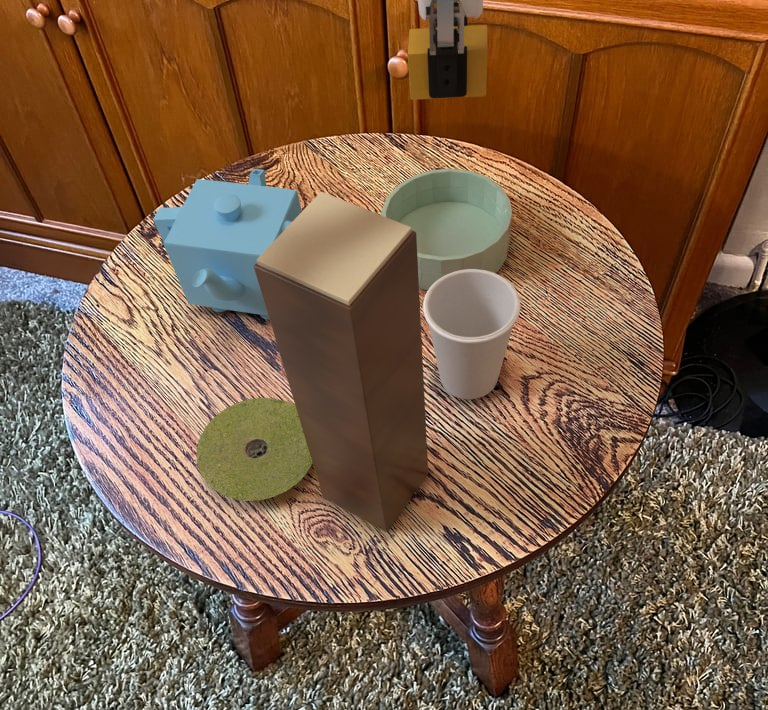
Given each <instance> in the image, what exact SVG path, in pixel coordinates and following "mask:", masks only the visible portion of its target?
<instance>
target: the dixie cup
mask: <svg viewBox="0 0 768 710" xmlns="http://www.w3.org/2000/svg"><path fill="white" fill-rule="evenodd" d="M422 311H423V316H424V319H425V321H426V323H427V324H428V328H429V333H430V337H431V341H432V347H433V352H434V356H435V361H436V365H437V370H438V375H439V379H440V383H441V385H442V388H444V390H445V391H446V392H447V393H448V394H449V395H451V396H453V397H455V398H457V399H461V400H477V399H480V398H483V397H485V396H486V395H487V396H488V394H489V393H491V392H492V391H493V390H494V389H495V387H496V385H498V380H499V377H500V374H501V370H502V366H503V363H504V359H505V356H506V353H507V349H508V345H509V342H510V339H511V334H512V332H513V329H514V325H515V323H517V320H518V318H519V316H520V312H521V299H520V296H519V293H518V290H517V289H516V287H514V285H513V284H512V283H511V282H510V281H509V280H508V279H506V278H504V277H503V276H502V275H500V274H498V273H497V272H496V273H493V272H490V271H486V270H480V269H465V270H459V271H455V272H452V273H449V274H447V275H445V276H443V277H442V278H440V279H439V280H437V281H436V282H435V283H434V284H433V285H432V286H431V287H430V288H429V290H426V293H425V295H424V298H423V303H422Z"/></svg>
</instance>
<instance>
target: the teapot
mask: <svg viewBox="0 0 768 710" xmlns="http://www.w3.org/2000/svg"><path fill="white" fill-rule="evenodd" d="M302 211H303V210H302V206H301V201H300V197H299V192H298V190H296V189H290V188H283V187H275V186H267V179H266V171H265V169H261V168H260V169H259V168H254V169H253V170H252V171H251V172H250V173H249V178H248V183H239V182H229V181H221V180H211V179H201V178H198V179H197V178H196V180H195V182H194V184H193V186H192V188H191V190H190V191H189V193H188V195H187V197H186V198H185V201H184V203H183V204H182V206H177V207H176V206H171V207H170V206H169V207H159V208H158V210H157V211H156V213H155V214H154V215H155V216H154V217H153V218H152V219H153V220H152V221H153V223H154V226H155V228H156V230H157V232H158V234H159V236H160V238H161V241H162V243H163V246H164V250H165V251H166V254H167V256H168V259H169V261H170V263H171V265H172V269H173V270H174V273H175V275H176V277H177V280H178V283H179V285H180V287H181V290H182V292H183V294H184V296H185V299H186V301H187V303H188V305H192V306H200V307H205V308H210V309H211V311H213V312H216V313H223V312H226V311H234V312H240V313H246V314H247V313H248V314H254V315H259V316H260V317H261V319H264V320H270V319H269V316H268V313H267V310H266V306H265V303H264V300H263V296H262V293H261V290H260V286H259V283H258V280H257V276H256V273H255V270H254V265H255V264H256V263H257V259H258V258H259V257H260V255H261V254H262V253H263V252H264V251H265V250H266V249H267V248H268V247H269V246H270V245H271V244H272V243H273V242H274V241H275V240H276V239H277V238H278V236H279V235H280V234H281V233H282V232H283V231H284V230H285V229H286V228H287V227H288V226H289V225H290V224H291V223H292V222H293V221H294V220H295V219H296V217H297V216H298V215H299V214H300V213H301V212H302Z"/></svg>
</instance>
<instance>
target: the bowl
mask: <svg viewBox="0 0 768 710" xmlns="http://www.w3.org/2000/svg"><path fill="white" fill-rule="evenodd" d="M380 215H382V216H384V217H387V218H389V219H392V220H394V221H397V222H399V223H402V224H404V225H407V226H409V227H411V228H412V231H415V232H416V237H417V257H418V277H419V289H421V290H424V291H428V290H429V288H430V287H431V286H432V285H433V284H434V283H435V282H436V281H437V280H439V279H440V278H442V277H443V276H445V275H447V274H449V273H452V272H455V271H459V270H465V269H480V270H486V271H490V272H493V273H496V274H497V272H499V270H501V268H502V266H503V265H504V264H505V261H506V259H507V257H508V254H509V250H510V249H509V248H510V243H511V235H512V223H513V208H512V203H511V199H510V197H509V195H508V194H507V193H506V192H505V190H504V189H503V187H502V186H501V185H500V184H498V183H497V182H495V181H494V180H493V179H491V178H490V177H488V176H487V175H483V174H481V173H478V172H475V171H472V170H469V169H468V170H467V169H461V168H460V169H459V168H452V167H451V168H450V167H449V168H440V169H430V170H427V171H424V172H422V173H418V174H415V175H413V176H411V177H409V178H408V179H406V180H404V181H403V182H401V183H400V184H397V185H396V187H395V188H393V190H392V191H391V192H390V193H389V195H388V196H387V197H386V199H385V201H384V204H383V206H382V209H381V213H380Z"/></svg>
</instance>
